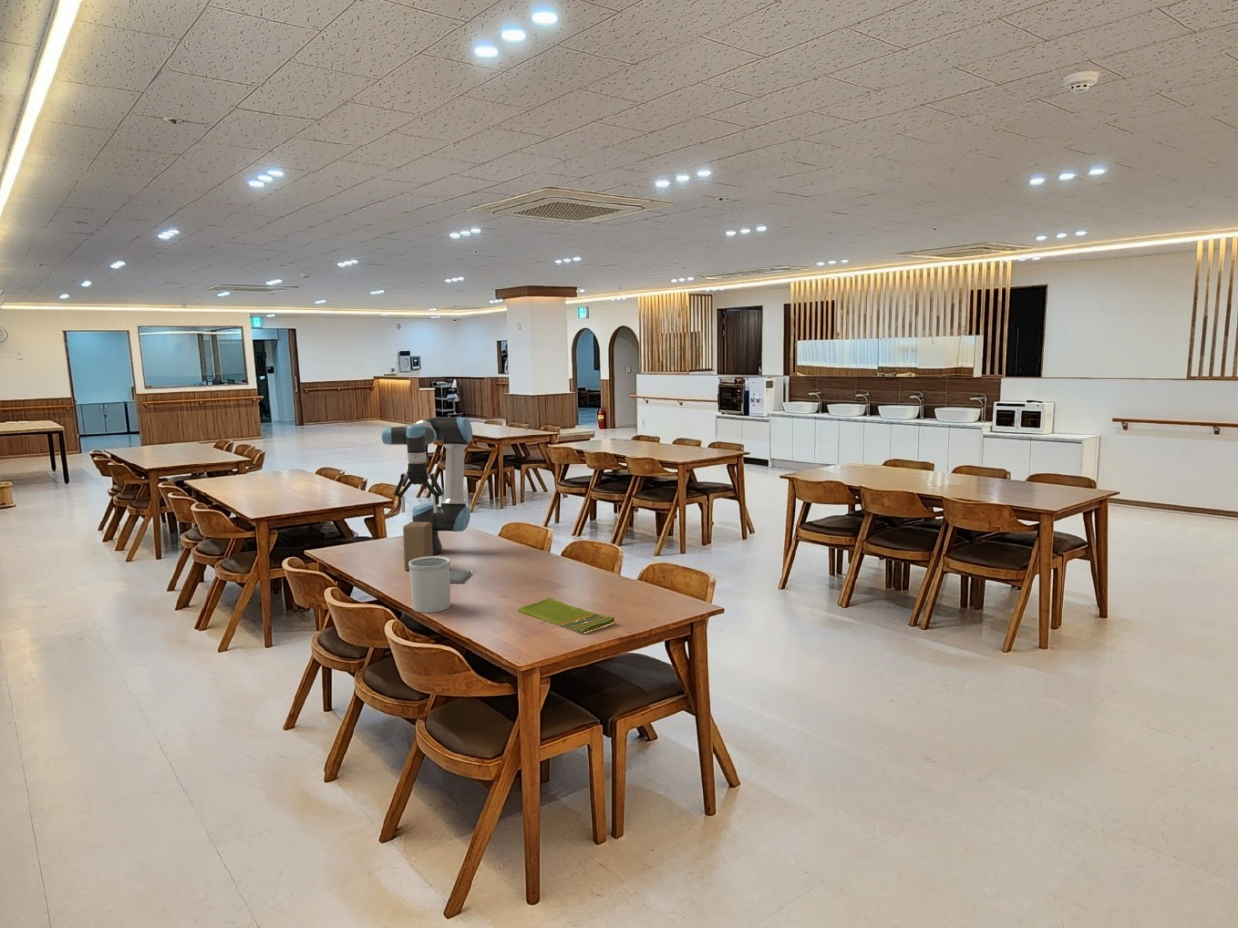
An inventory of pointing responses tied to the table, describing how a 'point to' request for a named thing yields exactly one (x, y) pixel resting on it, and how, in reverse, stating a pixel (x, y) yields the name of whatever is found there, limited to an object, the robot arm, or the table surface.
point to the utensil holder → (430, 584)
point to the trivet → (458, 576)
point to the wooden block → (417, 541)
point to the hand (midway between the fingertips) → (419, 512)
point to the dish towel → (565, 615)
